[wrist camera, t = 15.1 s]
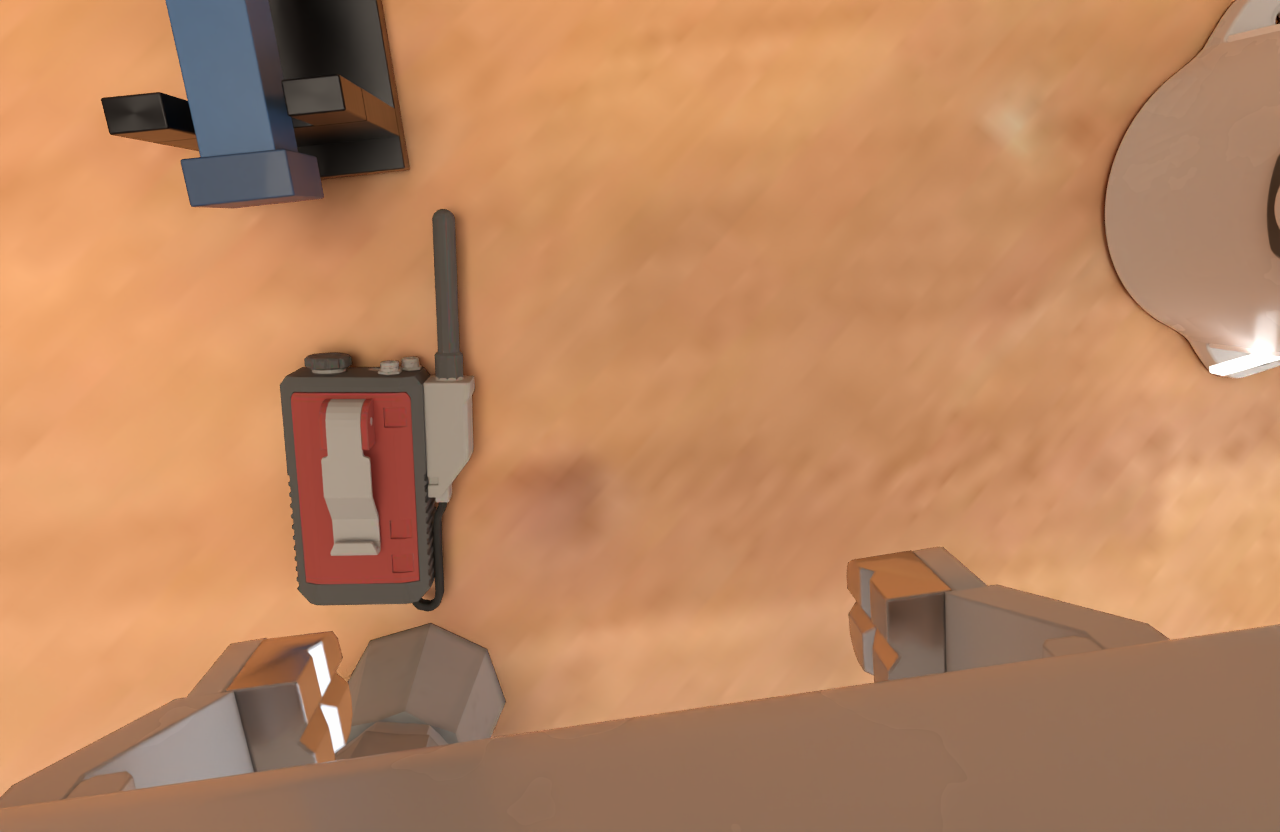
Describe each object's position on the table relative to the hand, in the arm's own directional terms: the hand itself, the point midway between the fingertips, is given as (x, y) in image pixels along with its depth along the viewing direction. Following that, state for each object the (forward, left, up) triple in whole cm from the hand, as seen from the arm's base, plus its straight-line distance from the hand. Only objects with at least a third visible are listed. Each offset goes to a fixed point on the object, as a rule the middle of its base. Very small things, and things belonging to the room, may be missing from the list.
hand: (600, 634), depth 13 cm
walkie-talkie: (+10, +2, -29) cm, 31 cm away
